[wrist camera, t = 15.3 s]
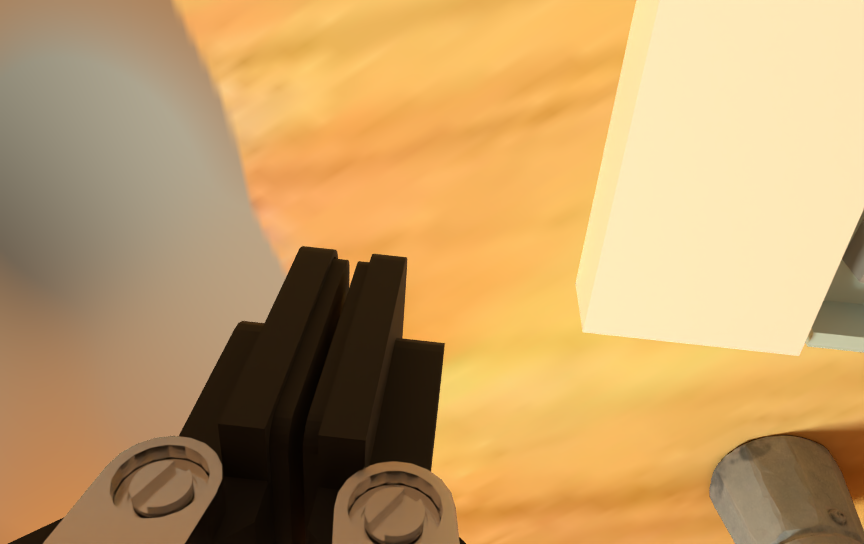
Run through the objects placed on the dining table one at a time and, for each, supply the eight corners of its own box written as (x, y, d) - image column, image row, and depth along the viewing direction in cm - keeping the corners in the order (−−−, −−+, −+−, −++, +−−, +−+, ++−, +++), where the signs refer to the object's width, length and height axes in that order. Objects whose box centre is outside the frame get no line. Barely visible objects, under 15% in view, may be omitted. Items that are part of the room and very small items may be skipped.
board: (684, -224, 31) (712, -229, 27) (969, -199, 31) (1043, -200, 27) (575, 283, 45) (582, 332, 41) (771, 304, 45) (799, 355, 41)
